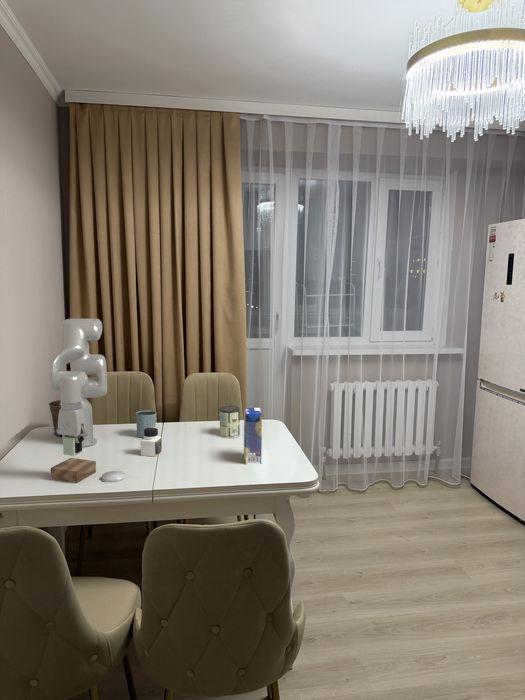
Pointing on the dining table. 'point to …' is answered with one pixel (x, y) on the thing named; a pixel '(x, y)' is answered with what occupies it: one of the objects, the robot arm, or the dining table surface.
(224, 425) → the coffee can
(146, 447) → the medicine bottle
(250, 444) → the beverage box
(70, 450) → the sage block
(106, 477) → the white domed disc
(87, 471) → the walnut block
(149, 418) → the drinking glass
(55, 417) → the plant pot
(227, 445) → the dining table surface
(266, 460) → the dining table surface
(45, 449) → the dining table surface
